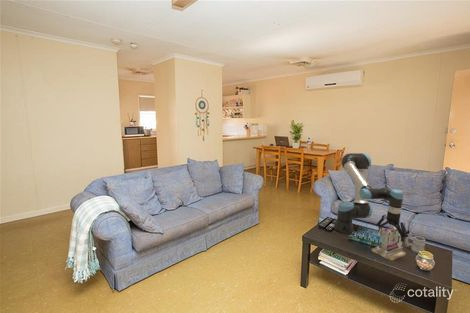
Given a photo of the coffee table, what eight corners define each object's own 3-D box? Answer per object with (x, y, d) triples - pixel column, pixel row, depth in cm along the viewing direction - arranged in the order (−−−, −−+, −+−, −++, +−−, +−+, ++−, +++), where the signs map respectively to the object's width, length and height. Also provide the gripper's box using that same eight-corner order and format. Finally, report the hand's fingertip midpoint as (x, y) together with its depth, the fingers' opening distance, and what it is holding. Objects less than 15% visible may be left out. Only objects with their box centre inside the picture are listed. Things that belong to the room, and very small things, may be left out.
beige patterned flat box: (371, 250, 174) (372, 244, 174) (385, 245, 182) (386, 239, 181) (391, 261, 162) (392, 255, 161) (405, 254, 170) (406, 249, 169)
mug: (423, 255, 170) (426, 239, 168) (403, 248, 178) (405, 233, 176) (424, 251, 175) (427, 235, 173) (405, 245, 183) (407, 230, 181)
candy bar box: (389, 247, 177) (392, 226, 174) (396, 250, 172) (399, 229, 170) (379, 250, 172) (382, 228, 169) (386, 254, 167) (389, 232, 165)
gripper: (373, 206, 176) (369, 233, 180) (410, 220, 154) (405, 250, 158) (379, 204, 180) (375, 231, 183) (417, 218, 158) (412, 248, 162)
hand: (389, 240), depth 171 cm, fingers open, 13 cm apart
